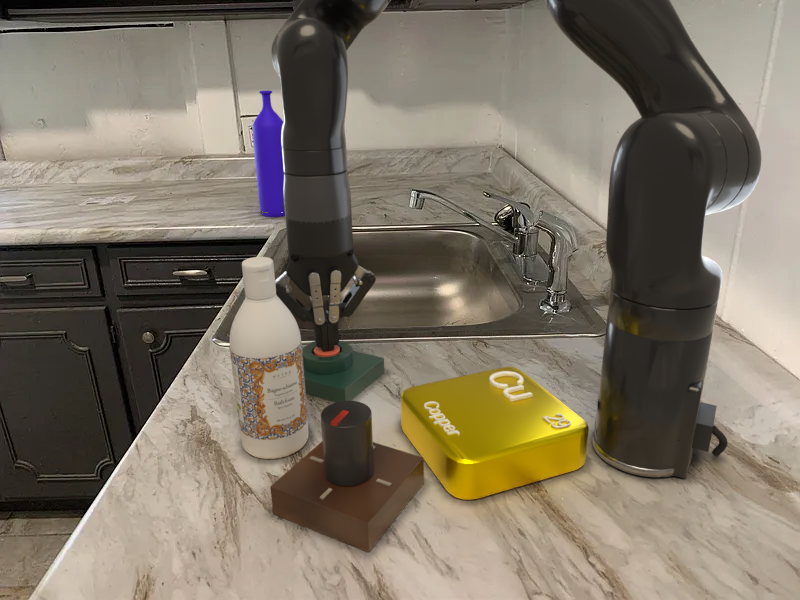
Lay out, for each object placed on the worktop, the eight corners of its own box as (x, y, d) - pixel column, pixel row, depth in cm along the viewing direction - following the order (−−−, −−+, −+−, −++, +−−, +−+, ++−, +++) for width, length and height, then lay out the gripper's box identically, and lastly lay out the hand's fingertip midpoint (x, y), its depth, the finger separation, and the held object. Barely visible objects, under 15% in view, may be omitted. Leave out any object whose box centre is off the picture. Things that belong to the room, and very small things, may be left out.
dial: (339, 452, 60) (336, 393, 57) (381, 463, 58) (380, 403, 56) (315, 479, 56) (310, 417, 54) (359, 491, 54) (356, 428, 52)
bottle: (277, 208, 168) (266, 89, 157) (299, 212, 163) (290, 90, 152) (253, 214, 162) (240, 91, 151) (276, 218, 157) (264, 92, 146)
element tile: (395, 423, 70) (394, 384, 68) (513, 395, 75) (515, 359, 73) (456, 507, 57) (457, 462, 55) (594, 466, 62) (599, 424, 60)
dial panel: (424, 484, 60) (424, 455, 59) (368, 553, 52) (367, 521, 50) (336, 455, 64) (334, 428, 63) (272, 514, 56) (269, 484, 55)
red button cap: (345, 359, 79) (344, 346, 78) (331, 369, 77) (330, 356, 76) (324, 354, 81) (323, 341, 80) (309, 364, 78) (308, 351, 77)
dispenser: (384, 373, 81) (383, 344, 79) (345, 405, 73) (343, 375, 72) (314, 355, 86) (312, 328, 84) (271, 384, 78) (268, 355, 77)
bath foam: (257, 470, 62) (234, 278, 55) (232, 437, 68) (209, 258, 60) (320, 446, 66) (307, 263, 58) (292, 417, 71) (276, 246, 64)
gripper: (261, 223, 67) (276, 369, 73) (383, 213, 70) (386, 354, 76) (256, 208, 73) (270, 343, 80) (367, 199, 77) (372, 329, 83)
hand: (327, 348), depth 78 cm, fingers closed
